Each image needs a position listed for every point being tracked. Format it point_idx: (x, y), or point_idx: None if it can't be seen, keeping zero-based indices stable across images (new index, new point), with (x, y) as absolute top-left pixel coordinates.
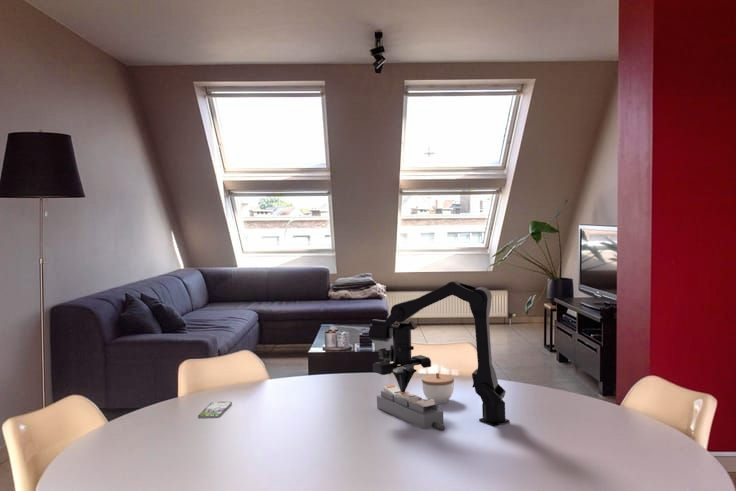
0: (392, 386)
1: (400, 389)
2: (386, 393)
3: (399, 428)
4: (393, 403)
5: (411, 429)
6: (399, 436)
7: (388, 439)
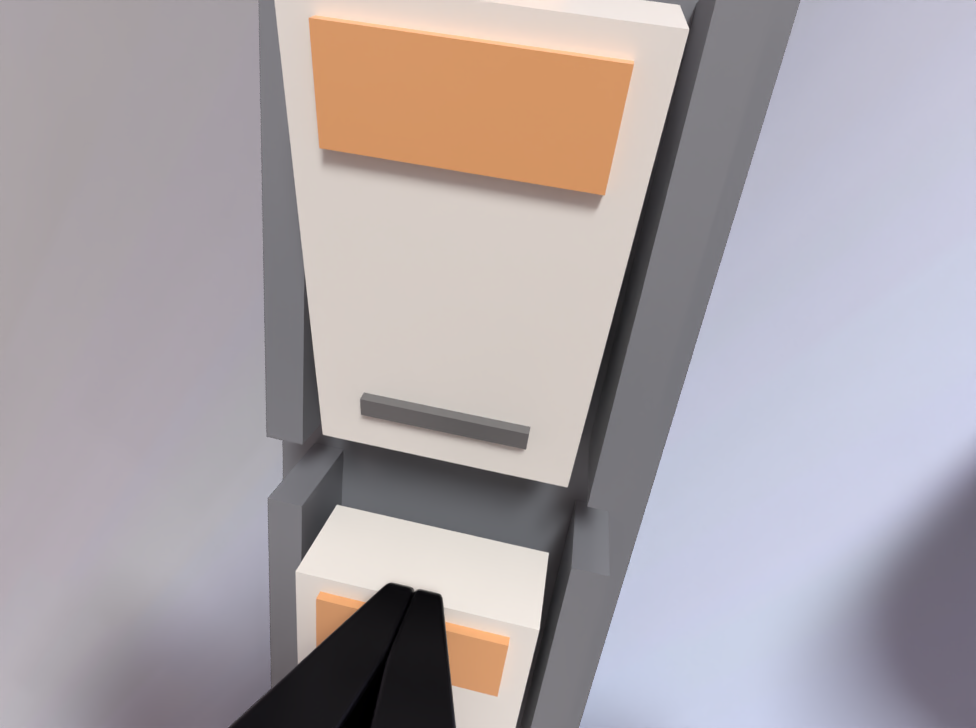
0: (494, 166)
1: (363, 615)
2: (268, 216)
3: (192, 629)
4: (287, 444)
5: (257, 700)
6: (112, 709)
7: (25, 688)
